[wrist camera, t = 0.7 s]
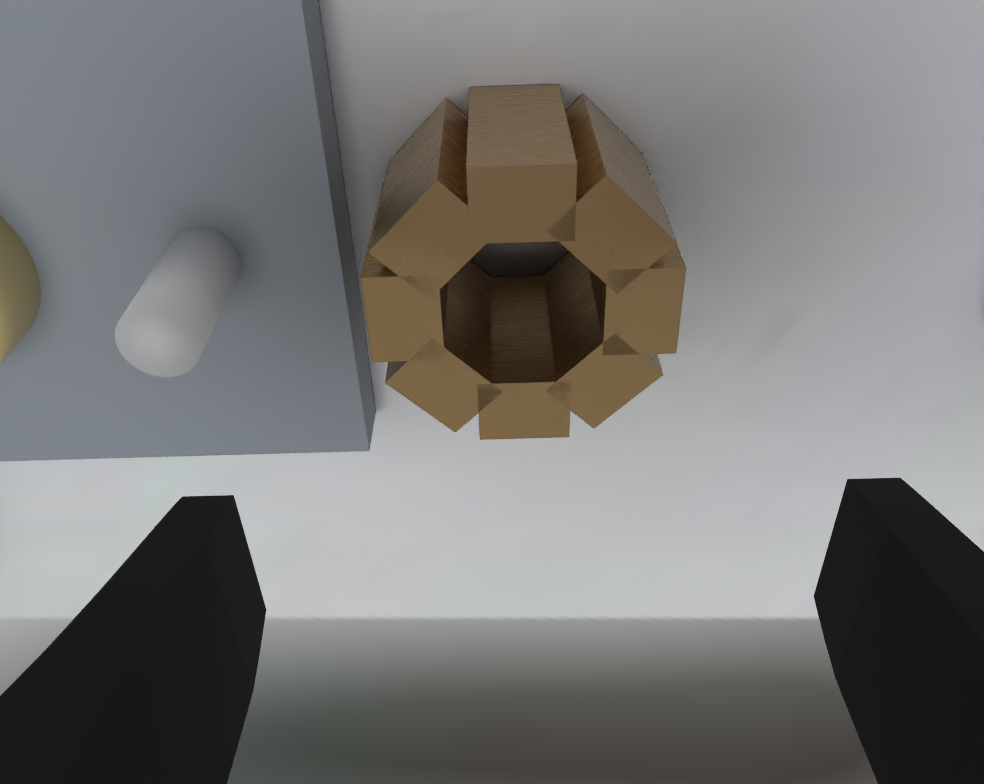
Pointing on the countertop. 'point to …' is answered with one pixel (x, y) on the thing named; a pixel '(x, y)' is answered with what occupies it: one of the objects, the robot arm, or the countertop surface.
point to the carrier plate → (174, 234)
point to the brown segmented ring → (521, 299)
